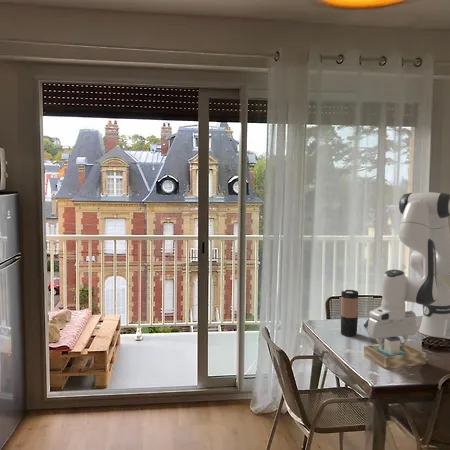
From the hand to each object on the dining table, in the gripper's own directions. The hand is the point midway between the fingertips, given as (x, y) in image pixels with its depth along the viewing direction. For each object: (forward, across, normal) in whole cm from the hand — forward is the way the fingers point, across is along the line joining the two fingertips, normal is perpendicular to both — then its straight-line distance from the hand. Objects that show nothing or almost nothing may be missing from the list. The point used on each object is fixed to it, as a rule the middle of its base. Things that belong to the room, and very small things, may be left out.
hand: (391, 347), depth 181 cm
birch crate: (+6, -2, -1) cm, 6 cm away
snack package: (+6, -18, -38) cm, 43 cm away
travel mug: (+6, -3, -35) cm, 36 cm away
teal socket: (+6, 0, 0) cm, 6 cm away
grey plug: (+6, -12, -14) cm, 19 cm away
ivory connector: (+5, 0, 0) cm, 5 cm away
